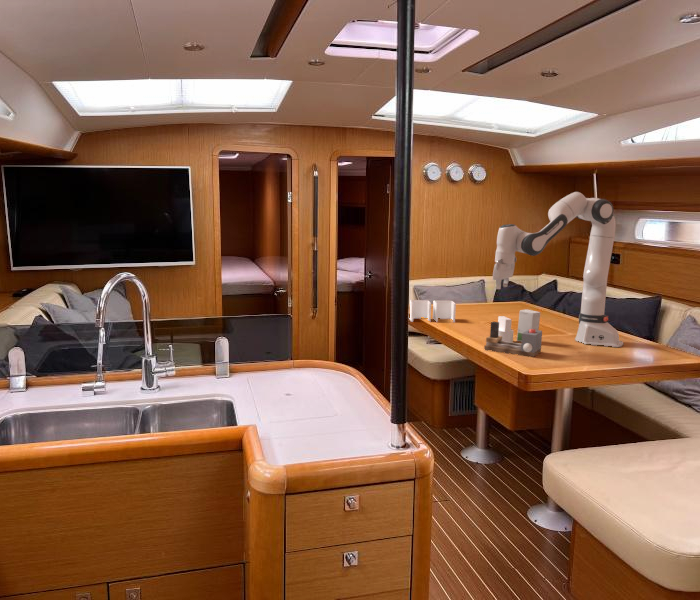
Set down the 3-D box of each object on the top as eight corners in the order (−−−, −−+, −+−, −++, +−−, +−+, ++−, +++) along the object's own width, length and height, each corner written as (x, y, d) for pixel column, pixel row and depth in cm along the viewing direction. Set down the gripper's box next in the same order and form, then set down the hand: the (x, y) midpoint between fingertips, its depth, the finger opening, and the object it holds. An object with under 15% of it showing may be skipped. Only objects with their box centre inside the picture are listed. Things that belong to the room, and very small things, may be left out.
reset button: (535, 336, 285) (536, 329, 285) (534, 337, 283) (534, 330, 282) (529, 335, 286) (530, 328, 286) (528, 336, 284) (528, 329, 284)
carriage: (501, 340, 296) (502, 321, 295) (496, 343, 289) (497, 324, 288) (491, 339, 299) (492, 320, 297) (486, 342, 292) (487, 323, 290)
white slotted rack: (451, 319, 367) (452, 300, 365) (454, 322, 356) (455, 303, 354) (408, 318, 366) (409, 300, 364) (411, 322, 355) (412, 303, 353)
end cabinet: (540, 351, 289) (542, 330, 288) (533, 357, 279) (535, 335, 277) (527, 350, 292) (529, 329, 291) (520, 355, 282) (521, 333, 280)
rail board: (540, 351, 289) (541, 345, 289) (533, 357, 279) (534, 350, 279) (492, 345, 301) (492, 338, 300) (484, 349, 291) (484, 343, 290)
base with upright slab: (515, 343, 306) (517, 319, 304) (498, 343, 304) (500, 319, 302) (507, 339, 315) (509, 316, 313) (491, 339, 313) (492, 316, 311)
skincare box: (516, 341, 311) (518, 310, 309) (524, 339, 316) (526, 309, 313) (530, 344, 305) (533, 312, 303) (538, 342, 309) (540, 311, 307)
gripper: (504, 261, 283) (501, 291, 285) (517, 258, 300) (514, 286, 302) (490, 259, 286) (487, 289, 288) (504, 256, 303) (502, 285, 305)
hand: (501, 288), depth 295 cm, fingers open, 8 cm apart
